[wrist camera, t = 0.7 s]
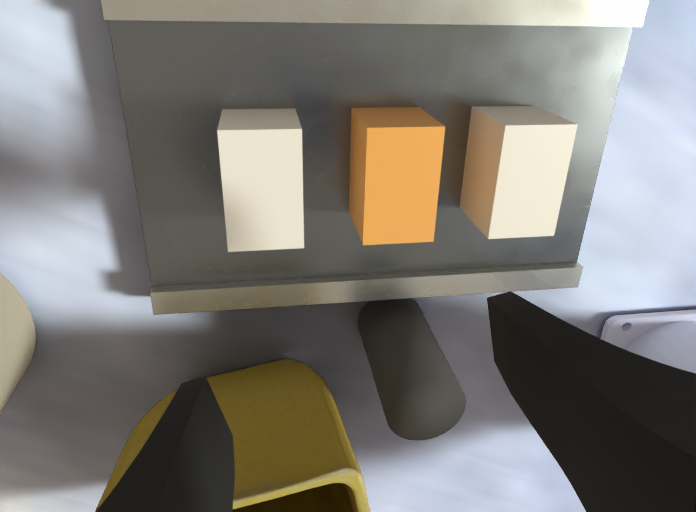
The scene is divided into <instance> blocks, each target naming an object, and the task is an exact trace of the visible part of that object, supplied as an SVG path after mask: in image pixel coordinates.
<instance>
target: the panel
mask: <svg viewBox="0 0 696 512" xmlns="http://www.w3.org/2000/svg"><path fill="white" fill-rule="evenodd" d="M648 1H649V0H101V5H102V11H103V17H104V20H108V22H109V28H110V34H111V40H112V46H113V53H114V59H115V65H116V71H117V77H118V83H119V89H120V95H121V101H122V107H123V113H124V119H125V125H126V131H127V137H128V143H129V149H130V155H131V161H132V168H133V174H134V180H135V186H136V192H137V198H138V204H139V210H140V216H141V222H142V228H143V234H144V240H145V246H146V252H147V258H148V264H149V270H150V276H151V283H152V288H151V291H150V296H151V302H152V308H153V314H154V315H159V314H174V313H190V312H205V311H220V310H236V309H251V308H266V307H282V306H297V305H312V304H328V303H343V302H358V301H374V300H389V299H404V298H420V297H435V296H450V295H466V294H481V293H496V292H510V291H511V292H512V291H527V290H542V289H558V288H573V287H578V285H579V281H580V277H581V273H582V269H583V267H582V266H581V265H580V264H579V263H577V259H578V255H579V251H580V246H581V242H582V238H583V234H584V230H585V225H586V221H587V217H588V213H589V209H590V205H591V200H592V196H593V192H594V188H595V184H596V180H597V175H598V171H599V167H600V163H601V159H602V155H603V150H604V146H605V142H606V138H607V134H608V130H609V125H610V121H611V117H612V113H613V109H614V104H615V100H616V96H617V92H618V88H619V84H620V79H621V75H622V71H623V67H624V63H625V59H626V54H627V50H628V46H629V42H630V38H631V34H632V29H633V27H642V26H643V21H644V17H645V13H646V9H647V5H648ZM472 106H537V107H539V108H541V109H544V110H546V111H548V112H551V113H553V114H555V115H558V116H560V117H562V118H564V119H567V120H569V121H571V122H574V123H576V124H578V126H577V130H576V135H575V140H574V145H573V149H572V154H571V159H570V163H569V168H568V173H567V177H566V182H565V187H564V192H563V196H562V201H561V206H560V210H559V215H558V220H557V224H556V229H555V234H554V236H540V237H520V238H500V239H488V238H487V237H486V236H485V235H484V234H483V233H482V232H481V231H480V230H479V229H478V227H477V226H476V225H475V224H474V223H473V222H472V221H471V220H470V219H469V218H468V217H467V215H466V214H465V213H464V212H463V211H462V210H461V209H460V208H459V207H460V199H461V191H462V183H463V174H464V166H465V158H466V150H467V142H468V134H469V126H470V117H471V109H472ZM379 107H420V108H421V109H423V110H424V111H425V112H427V113H428V114H429V115H431V116H432V117H433V118H435V119H436V120H437V121H439V122H440V123H441V124H443V125H444V126H445V135H444V145H443V154H442V164H441V174H440V184H439V194H438V203H437V213H436V223H435V233H434V242H419V243H399V244H378V245H362V242H361V240H360V237H359V235H358V233H357V230H356V228H355V225H354V223H353V221H352V218H351V216H350V213H349V189H350V146H351V108H379ZM287 108H295V109H296V112H297V115H298V118H299V121H300V124H301V127H302V157H303V214H304V248H298V249H277V250H257V251H237V252H228V247H227V236H226V224H225V213H224V202H223V191H222V179H221V168H220V157H219V146H218V134H217V129H218V125H219V121H220V116H221V112H222V109H287Z"/></svg>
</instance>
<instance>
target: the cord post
mask: <svg viewBox="0 0 696 512" xmlns="http://www.w3.org/2000/svg"><path fill="white" fill-rule="evenodd" d="M358 327H359V331H360V335H361V338H362V341H363V344H364V348H365V351H366V354H367V357H368V361H369V364H370V367H371V370H372V374H373V377H374V380H375V384H376V387H377V390H378V393H379V397H380V400H381V403H382V406H383V410H384V413H385V416H386V419H387V423H388V425H389V427H390V428H391V430H392V431H393V432H394V433H395V434H397V435H398V436H400V437H403V438H405V439H409V440H426V439H431V438H434V437H437V436H439V435H441V434H443V433H445V432H447V431H448V430H450V429H451V428H452V427H453V426H454V425H455V424H456V423H457V422H458V421H459V419H460V418H461V416H462V414H463V412H464V409H465V396H464V393H463V391H462V389H461V387H460V385H459V383H458V382H457V380H456V378H455V376H454V374H453V372H452V370H451V368H450V366H449V364H448V362H447V360H446V358H445V356H444V354H443V352H442V350H441V348H440V346H439V345H438V343H437V341H436V339H435V337H434V335H433V333H432V331H431V329H430V327H429V325H428V323H427V321H426V319H425V317H424V315H423V313H422V311H421V309H420V308H419V306H418V304H417V302H416V301H415V300H414V299H413V298H404V299H389V300H374V301H369V302H368V303H367V304H366V305H365V306H364V307H363V309H362V310H361V312H360V315H359V318H358Z"/></svg>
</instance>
